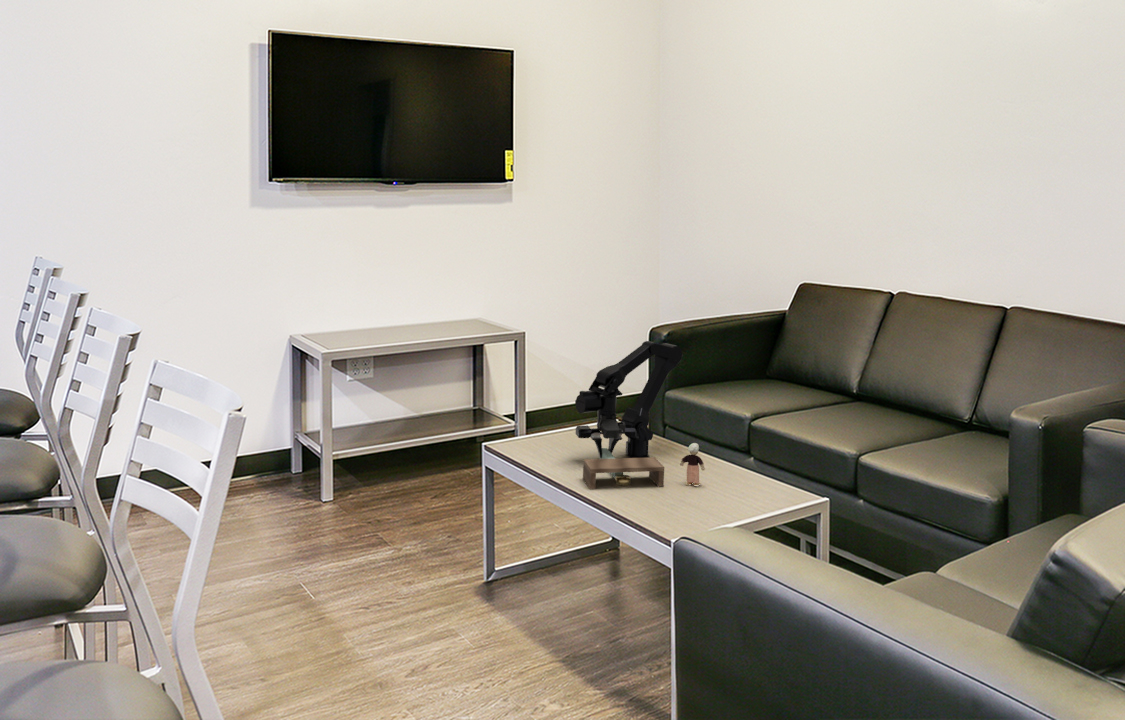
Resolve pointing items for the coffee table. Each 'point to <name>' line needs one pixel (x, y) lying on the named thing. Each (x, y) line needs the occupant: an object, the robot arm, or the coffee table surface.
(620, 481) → the brass disc
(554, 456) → the coffee table surface
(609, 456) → the green blade
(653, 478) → the walnut shelf
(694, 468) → the grandmother figurine
